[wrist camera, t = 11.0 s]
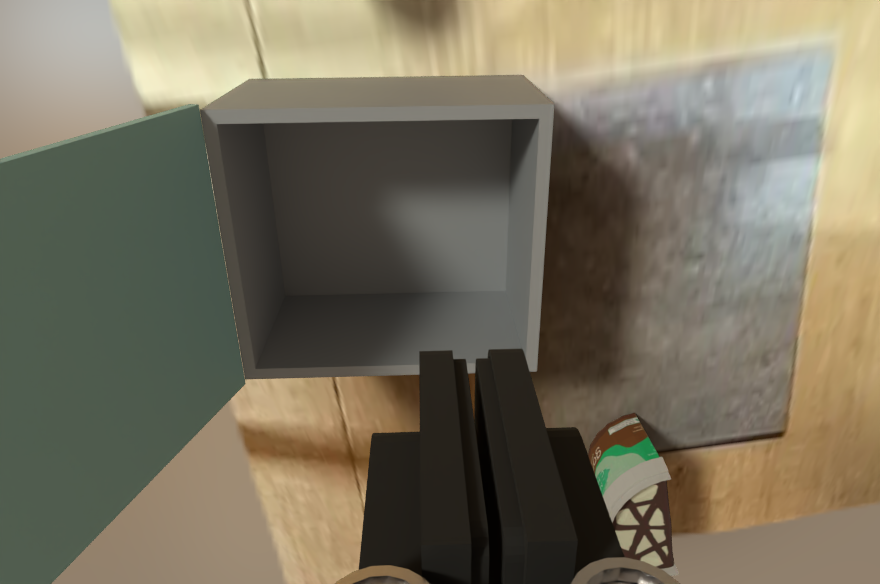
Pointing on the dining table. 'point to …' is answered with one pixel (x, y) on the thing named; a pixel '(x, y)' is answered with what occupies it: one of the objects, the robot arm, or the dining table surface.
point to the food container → (634, 491)
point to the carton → (381, 219)
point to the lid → (105, 329)
